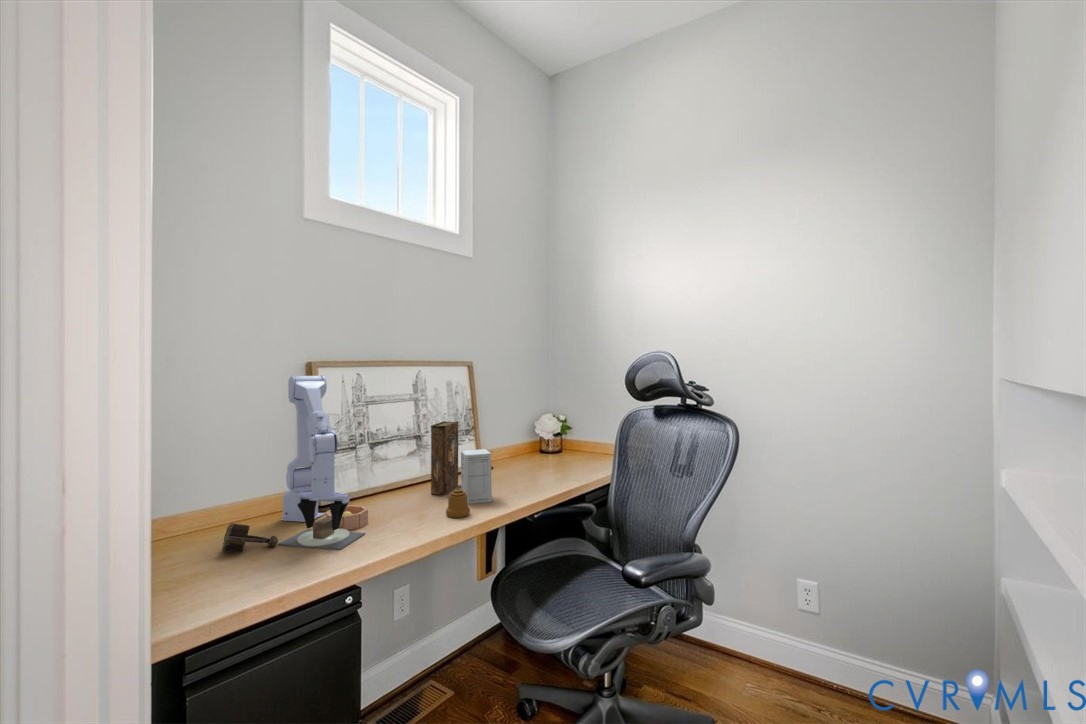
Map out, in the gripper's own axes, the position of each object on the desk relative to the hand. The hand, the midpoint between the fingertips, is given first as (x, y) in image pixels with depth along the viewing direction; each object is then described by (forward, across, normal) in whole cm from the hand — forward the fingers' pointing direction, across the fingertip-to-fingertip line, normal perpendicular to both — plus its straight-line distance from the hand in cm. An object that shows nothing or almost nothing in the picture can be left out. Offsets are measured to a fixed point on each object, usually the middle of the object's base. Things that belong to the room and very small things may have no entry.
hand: (323, 528), depth 137 cm
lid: (+3, 0, 0) cm, 3 cm away
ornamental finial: (+3, +28, +28) cm, 40 cm away
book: (+3, +12, +57) cm, 58 cm away
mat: (+3, 0, 0) cm, 3 cm away
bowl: (+3, -1, +13) cm, 13 cm away
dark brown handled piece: (+3, -14, -10) cm, 18 cm away
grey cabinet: (+3, +28, +46) cm, 54 cm away
